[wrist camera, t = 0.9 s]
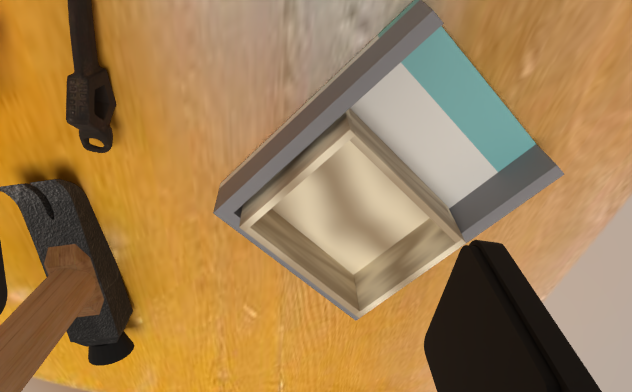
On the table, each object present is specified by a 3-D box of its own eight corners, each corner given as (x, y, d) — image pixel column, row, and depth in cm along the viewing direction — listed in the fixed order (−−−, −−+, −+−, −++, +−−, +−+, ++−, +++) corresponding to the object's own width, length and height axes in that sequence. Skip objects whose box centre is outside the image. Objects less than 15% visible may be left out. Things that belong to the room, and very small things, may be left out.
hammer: (33, 165, 46) (-392, 409, 18) (85, 158, 46) (-261, 393, 18) (95, 342, 53) (-139, 713, 25) (141, 336, 53) (-44, 703, 25)
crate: (343, 101, 40) (350, 129, 36) (447, 206, 46) (466, 243, 41) (244, 191, 44) (239, 227, 40) (352, 277, 50) (359, 318, 45)
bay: (417, -3, 38) (433, 10, 33) (538, 147, 45) (564, 174, 41) (220, 183, 45) (213, 213, 41) (350, 286, 53) (355, 320, 48)
